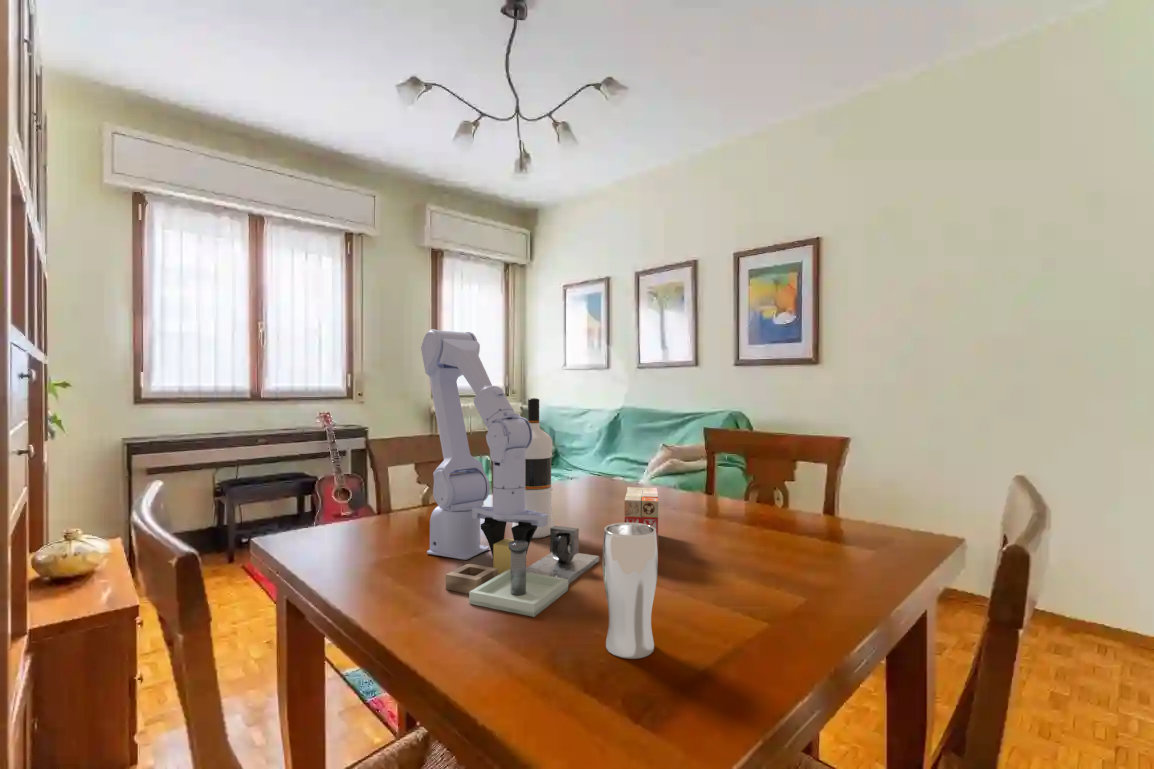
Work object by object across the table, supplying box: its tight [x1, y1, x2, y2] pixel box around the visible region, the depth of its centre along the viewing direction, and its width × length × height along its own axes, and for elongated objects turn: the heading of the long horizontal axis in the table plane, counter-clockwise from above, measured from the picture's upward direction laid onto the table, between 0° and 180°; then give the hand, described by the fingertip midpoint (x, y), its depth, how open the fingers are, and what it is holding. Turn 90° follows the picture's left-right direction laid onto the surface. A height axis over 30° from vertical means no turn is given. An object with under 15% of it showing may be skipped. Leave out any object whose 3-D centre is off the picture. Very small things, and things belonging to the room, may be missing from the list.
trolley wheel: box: [526, 525, 600, 585], centre depth 99 cm, size 9×15×7 cm, turn 155°
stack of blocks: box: [623, 486, 659, 553], centre depth 112 cm, size 21×6×12 cm, turn 172°
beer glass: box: [601, 522, 659, 660], centre depth 70 cm, size 7×7×15 cm
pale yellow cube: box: [492, 537, 514, 575], centre depth 98 cm, size 4×4×5 cm
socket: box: [445, 563, 499, 595], centre depth 91 cm, size 6×6×2 cm
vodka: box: [511, 397, 555, 539], centre depth 123 cm, size 9×9×30 cm
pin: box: [509, 540, 529, 596], centre depth 86 cm, size 3×3×8 cm
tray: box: [468, 569, 569, 618], centre depth 86 cm, size 11×11×2 cm
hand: (509, 562), depth 98 cm, fingers closed on pale yellow cube, 4 cm apart
